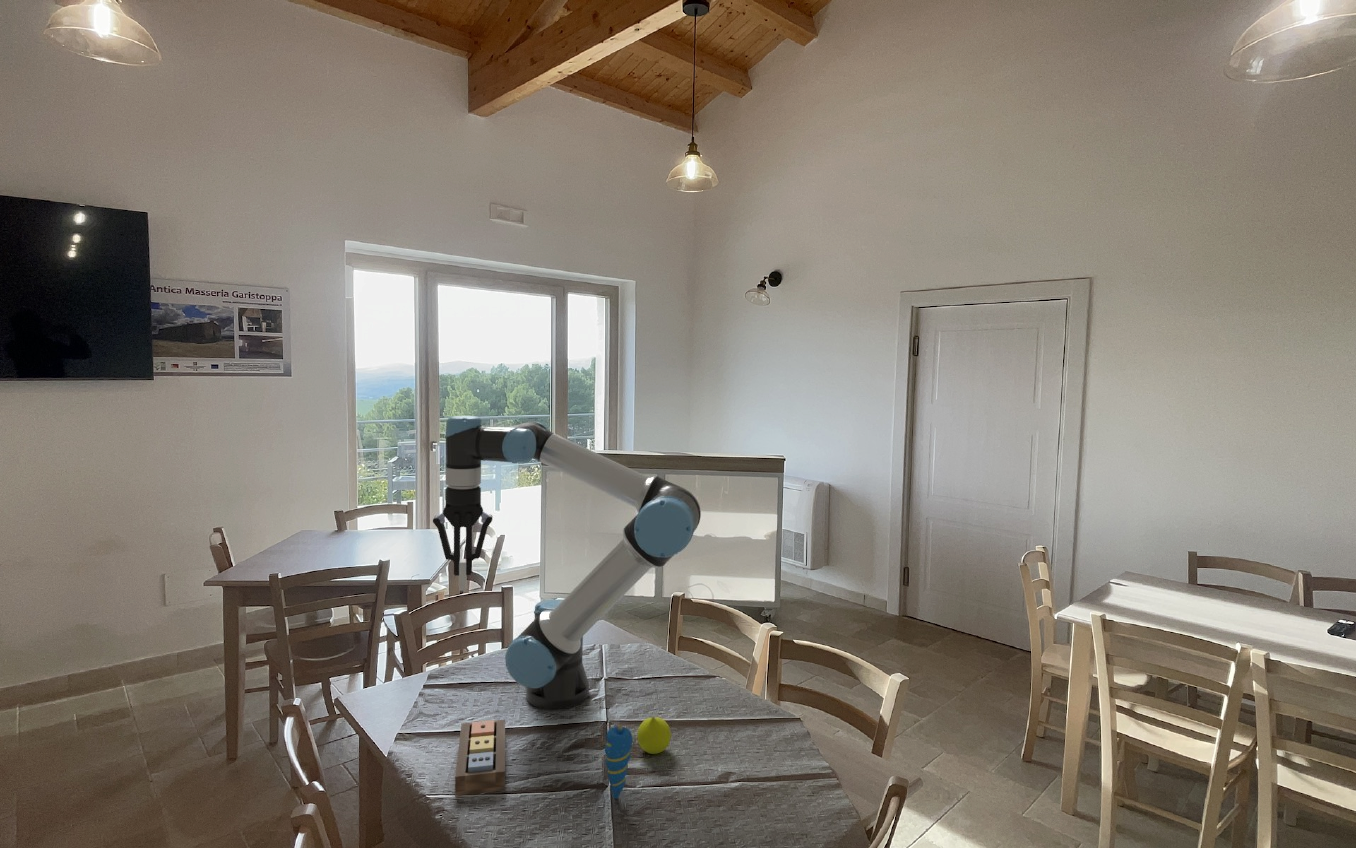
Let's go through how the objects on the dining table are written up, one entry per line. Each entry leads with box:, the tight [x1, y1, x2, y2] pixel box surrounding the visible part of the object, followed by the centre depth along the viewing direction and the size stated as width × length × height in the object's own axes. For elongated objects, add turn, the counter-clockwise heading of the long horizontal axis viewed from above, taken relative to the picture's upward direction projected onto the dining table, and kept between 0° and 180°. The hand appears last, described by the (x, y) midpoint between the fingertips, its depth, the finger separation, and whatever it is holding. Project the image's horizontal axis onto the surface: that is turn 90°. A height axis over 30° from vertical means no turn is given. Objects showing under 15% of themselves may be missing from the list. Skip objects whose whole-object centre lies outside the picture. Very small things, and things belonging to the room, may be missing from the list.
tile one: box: [471, 719, 495, 737], centre depth 144 cm, size 4×4×3 cm
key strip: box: [454, 719, 506, 797], centre depth 138 cm, size 9×19×4 cm, turn 14°
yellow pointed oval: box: [636, 714, 672, 755], centre depth 145 cm, size 7×7×10 cm
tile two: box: [470, 735, 494, 754], centre depth 138 cm, size 4×4×3 cm
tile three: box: [468, 752, 493, 773], centre depth 132 cm, size 4×4×3 cm
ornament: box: [604, 723, 634, 800], centre depth 128 cm, size 5×5×15 cm
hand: (462, 588), depth 155 cm, fingers closed
